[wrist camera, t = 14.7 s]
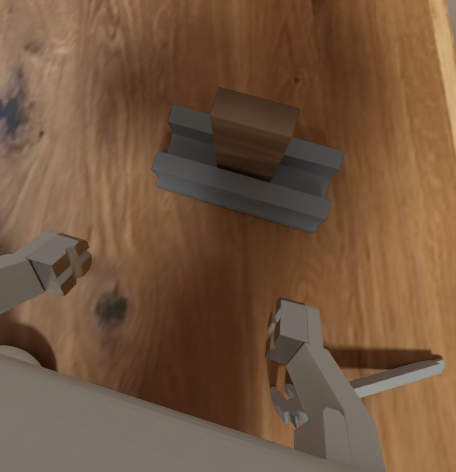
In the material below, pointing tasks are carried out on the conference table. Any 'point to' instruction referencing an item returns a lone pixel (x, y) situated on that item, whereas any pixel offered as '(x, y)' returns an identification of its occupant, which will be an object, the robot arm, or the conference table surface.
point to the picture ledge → (243, 187)
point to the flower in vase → (18, 354)
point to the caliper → (358, 387)
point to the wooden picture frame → (250, 133)
